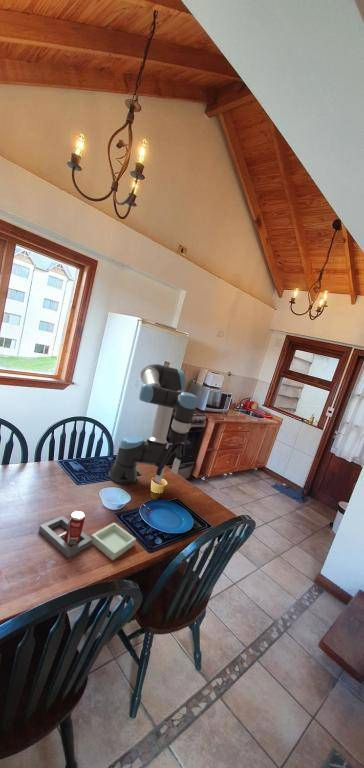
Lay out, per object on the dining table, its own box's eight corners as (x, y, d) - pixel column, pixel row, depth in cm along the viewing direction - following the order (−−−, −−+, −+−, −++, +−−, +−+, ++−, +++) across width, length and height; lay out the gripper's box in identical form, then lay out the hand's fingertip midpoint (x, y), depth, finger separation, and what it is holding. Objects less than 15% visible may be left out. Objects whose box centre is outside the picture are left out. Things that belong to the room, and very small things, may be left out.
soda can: (65, 537, 114) (72, 508, 112) (79, 540, 115) (87, 511, 113) (61, 547, 109) (68, 517, 107) (76, 550, 109) (83, 520, 108)
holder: (38, 531, 113) (39, 525, 113) (61, 520, 122) (62, 515, 121) (68, 558, 105) (69, 552, 105) (90, 545, 114) (92, 539, 113)
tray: (89, 541, 115) (91, 534, 115) (112, 528, 126) (114, 522, 125) (112, 560, 110) (114, 553, 109) (134, 545, 120) (136, 538, 119)
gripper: (172, 438, 113) (157, 490, 116) (200, 429, 135) (186, 473, 138) (155, 431, 116) (141, 481, 119) (185, 422, 138) (173, 465, 142)
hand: (165, 477), depth 129 cm, fingers open, 13 cm apart
